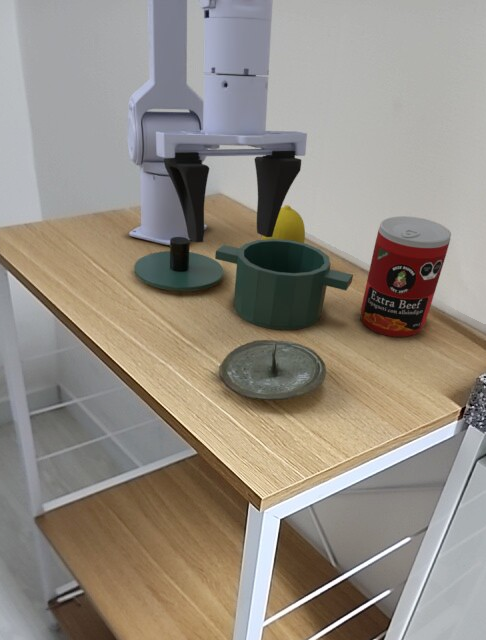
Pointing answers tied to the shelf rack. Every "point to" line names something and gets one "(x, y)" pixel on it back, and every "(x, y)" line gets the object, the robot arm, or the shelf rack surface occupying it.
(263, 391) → the metal candle holder
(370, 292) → the canned food
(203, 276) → the pot lid
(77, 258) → the shelf rack surface
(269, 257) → the pot
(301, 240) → the lemon
